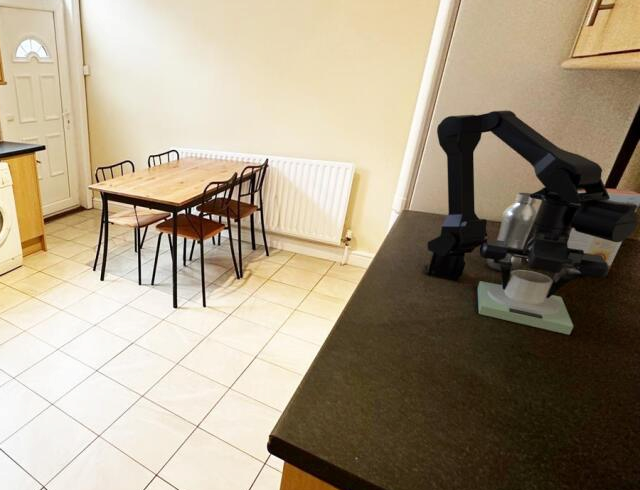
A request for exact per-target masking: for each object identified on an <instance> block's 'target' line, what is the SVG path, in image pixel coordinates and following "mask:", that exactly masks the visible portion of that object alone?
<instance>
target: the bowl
mask: <svg viewBox="0 0 640 490" xmlns="http://www.w3.org/2000/svg"><path fill="white" fill-rule="evenodd" d="M552 279H553V278H551V277H549V276H548V275H546V274H543V273H541V272H537V271H533V270H527V269H516V270H513V271H510V274H509V279H508V284H507V286H506V288H505V290H504V292H505V295H506V296H508V297H509V298H511V299H513V300H516V301H519V302H523V303H528V304H540V303H542V302H544V301H545V300H546V297H547V295H548V293H549V290H550V288H551V286H552V283H553V280H552Z"/></svg>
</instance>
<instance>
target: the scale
mask: <svg viewBox="0 0 640 490" xmlns="http://www.w3.org/2000/svg"><path fill="white" fill-rule="evenodd" d="M477 304H478V315H482V316H487V317H491V318H495V319H500V320H502V321H503V320H504V321H509V322H513V323H516V324H520V325H525V326H530V327H533V328H538V329H542V330H546V331H550V332H556V333H559V334H564V335H568V336H570V335H571V333H572V331H573V329H574V324H573V322H572V319H571V317H570V315H569V312H568V310H567V307H566V305H565V303H564V300H563V297H562V296H558V295H554V294H553V295H552V296H551V297H549V298H546V300H545V301H544V302H542V303H540V304H528V303H523V302H519V301H516V300H513V299H511V298H509V297H508V296H506V295H505V292H504V289H503V288H502V284H497V283H493V282H487V281H482V280H480V281H479V283H478V285H477Z"/></svg>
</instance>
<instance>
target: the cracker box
mask: <svg viewBox="0 0 640 490" xmlns="http://www.w3.org/2000/svg"><path fill="white" fill-rule="evenodd" d="M606 190H607V193H608V195H609V197H610V199H609V200H610V201H615V202H619V203H630V204H635V205H637V206H638V207H637V209H636V211H635V212H636V213H637V210H638V208H639V206H640V192H639V193H638V192H636V191H634V190H631V189H623V188H621V189H620V188H606ZM585 192H586V191H585V190H582V191H578V193H585ZM622 243H623V241H621V242H613V241H609V240H605V239H602V238H598V237H594V236H591V235H587V234H583V233H580V232H577V231H576V230H575V228H572V230H571V232H570V237H569V240H568V242H567V245H568V248H572V249H578V250H583V251H584V253H587V254H594V255H600V256H602V257H603V259H604V260H605V261H606V263H607V264H608V265H609V270H610V268H611V267H612V264H613V262H614V259H615V257H616V255H617V254H618V251H619V249H620V247H621V245H622ZM526 261H527V262H528V259H526ZM609 270H608V272H607V274H606V276H607V275H608V273H609Z"/></svg>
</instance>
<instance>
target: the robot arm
mask: <svg viewBox="0 0 640 490" xmlns="http://www.w3.org/2000/svg"><path fill="white" fill-rule="evenodd" d="M489 132H491V133H492V134H493V135H494V136H495V137H497V138H498V139H499V140H500V141H502V142H503V143H504V144H506V145H507V146H508V147H509V148H510V149H512V150H513V151H514V152H516V153H517V154H518V155H519V156H521V157H522V158H523V160H525V161H527V162H528V163H529V164H530V165H531V166H532V168H533V170H534V173H535V177H536V178H537V179H538V180H539V181H540V182H539V183H541V184H542V185H543V186H544V187H542V188H541V189H539V190H538V191H536V192H533V193H532V192H531V193H532V194H530V195H529V197H531V198H535V199H536V200H539V201H540V203H539V205H538V208H537V209H536V212H537V213H536V216H535V218H534V221H533V223H532V226H531V229H530V231H529V234H528V236H527V238H526V241H525V243H524V247H523V249H520V248H513V247H508V246H507V241H500V240H497V239H493V238H486V237H488V233H487V225H488V223H487V222H488V221H487V219H486V218H483V219H480V218H479V217H478V215H477V214H476V212H475V211H476V210H475V167H474V166H475V165H474V164H475V163H474V160H475V159H474V152H475V150H476V148H477V147H478V145H479V143H480V141H481V139H482V134H483V133H489ZM436 135H437V139H438V145H439V146H440V148H441V149H442V151H443V152H444V154H445V155H446V166H447V167H446V168H447V203H448V206H447V207H448V213H447V216H446V218H445V220H444V221H443V223H442V225H441V229H440V235H439V236H437V237H435V238H433V239H431V240H429V241H427V250H428V251H429V252H432V255H431V258H430V262H429V264H428V265H427V270H426V275H428V276H431V277H438V278H443V279H447V280H451V281H459V280H460V277H462V275H463V272H464V270H465V267H466V264H467V259H466V257H465V256H466V254H471V253H473V251H475V249H476V248H479V256H480V257H481V258H483V259H493V261H494V263H497V264H500V267H501V271H500V273H501V274H500V275H501V285H502V288H503V289H504V290H505V288H506V286H507V284H508V279H509V275H510V272H511V271H510V269H511V267H512V261H511V258H512V257H518V258H521V259H525V260H527V259H528V261H527V267H528V268H529V269H532V270H534V271H535V270H536V271H537V270H540V271H546V272H550V273H553V274H554V276H553V277H552V278H551V279H552V280H553V283H552V286H551V288H550V290H549V293H548V295H547V297H546V298H549V297H551V296H552V295H554V294H555V293H556V292H558V291H559V290H560V289H561V288H562V287H564V286H565V285H566V284H567V283H570V281H572V280H575V279H585V278H586V277H587V276H588V277H593V278H594V277H595V278H598V279H604V278H606V276H607V275H608V273H609V271H608V270H610V268H609V265H608V264H607V263H606V261H605V260H604V259H603V257H602V256H600V255H594V254H587V253H584V251H583V250H578V249H572V248H568V245H567V242H568V240H569V237H570V232H571V230H572V228H575V230H576V231H577V232H580V233H583V234H587V235H591V236H594V237H598V238H602V239H605V240H609V241H613V242H621V241H622V242H624V241H626V240H627V239H628V238H629V237H630V236H631V235H632V234H633V233H634V231H635V230H636V229H637V227H638V225H639V221H638V220H639V214H638V212H637V210H638V208H639V206H637V205H635V204H630V203H619V202H615V201H610V200H609V199H610V197H609V195H608V193H607V190H606V189H607V188H606V186H605V184H604V181H603V180H602V173H603V169H602V167H601V165H600V164H599V163H597V162H595V161H593V160H591V159H588V158H587V157H585V156H583V155H581V154H577V153H574V152H572V151H568V150H564V149H563V148H560V147H558V146H557V145H555V144H554V143H553V142H552V141H550V140H549V139H548V138H546V137H545V136H544V135H543V134H541V133H539V132H538V131H536V130H535V129H534V128H533V127H531V126H530V125H529V124H527V123H526V122H524V121H523V120H522V119H521V118H519V117H518V116H517V115H516V114H515V112H513V111H511V110H507V109H506V110H492V111H490V112H487V113H482V114H460V115H448V116H447V117H445V118H443V119H442V120H441V121H440V123H439V124H438V125H437V128H436ZM582 190H585V191H586V192H585V193H578V191H582ZM637 207H638V208H637ZM636 209H637V210H636ZM635 211H636V212H635ZM607 272H608V273H607ZM606 274H607V275H606Z"/></svg>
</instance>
